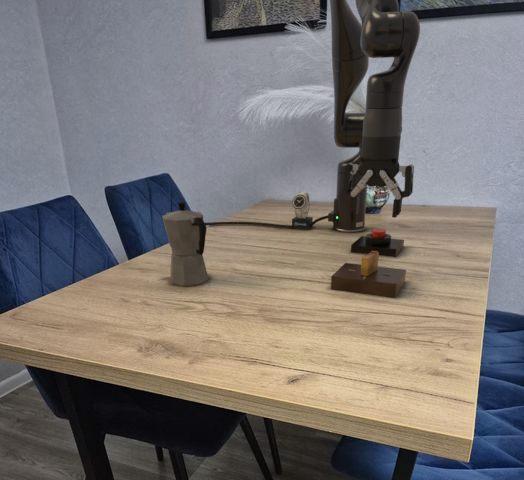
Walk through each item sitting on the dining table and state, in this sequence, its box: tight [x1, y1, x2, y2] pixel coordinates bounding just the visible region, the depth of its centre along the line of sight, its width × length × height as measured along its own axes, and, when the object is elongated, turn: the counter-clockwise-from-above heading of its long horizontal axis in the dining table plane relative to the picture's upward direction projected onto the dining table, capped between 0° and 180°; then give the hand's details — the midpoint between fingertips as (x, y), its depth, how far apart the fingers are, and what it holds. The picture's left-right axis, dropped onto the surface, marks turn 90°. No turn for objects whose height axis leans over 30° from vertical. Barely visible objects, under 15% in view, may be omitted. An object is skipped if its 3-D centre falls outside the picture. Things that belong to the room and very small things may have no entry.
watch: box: [291, 191, 314, 231], centre depth 151 cm, size 6×8×11 cm
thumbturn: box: [360, 251, 380, 276], centre depth 102 cm, size 5×2×4 cm, turn 142°
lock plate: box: [330, 262, 407, 298], centre depth 104 cm, size 14×10×3 cm
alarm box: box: [350, 232, 405, 258], centre depth 128 cm, size 12×10×4 cm
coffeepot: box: [161, 201, 209, 287], centre depth 107 cm, size 15×9×18 cm, turn 39°
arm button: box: [371, 228, 387, 238], centre depth 127 cm, size 4×4×2 cm
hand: (375, 215), depth 102 cm, fingers open, 8 cm apart
